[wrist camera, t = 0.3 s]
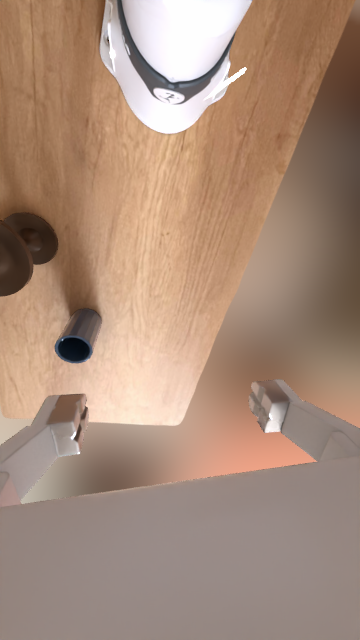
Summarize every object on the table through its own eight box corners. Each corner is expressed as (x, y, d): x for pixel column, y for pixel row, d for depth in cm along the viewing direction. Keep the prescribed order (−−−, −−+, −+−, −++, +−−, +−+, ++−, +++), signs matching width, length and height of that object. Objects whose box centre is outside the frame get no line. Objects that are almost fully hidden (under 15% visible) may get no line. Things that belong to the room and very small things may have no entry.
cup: (70, 307, 48) (52, 334, 39) (101, 309, 50) (91, 336, 40) (72, 332, 51) (56, 362, 42) (101, 333, 53) (92, 363, 43)
